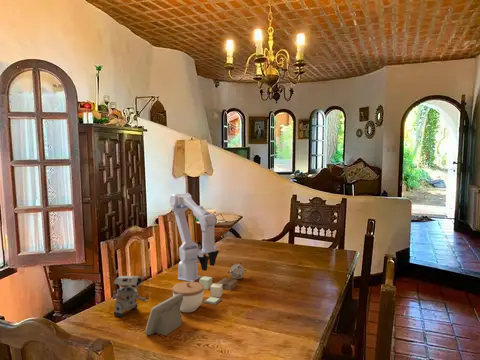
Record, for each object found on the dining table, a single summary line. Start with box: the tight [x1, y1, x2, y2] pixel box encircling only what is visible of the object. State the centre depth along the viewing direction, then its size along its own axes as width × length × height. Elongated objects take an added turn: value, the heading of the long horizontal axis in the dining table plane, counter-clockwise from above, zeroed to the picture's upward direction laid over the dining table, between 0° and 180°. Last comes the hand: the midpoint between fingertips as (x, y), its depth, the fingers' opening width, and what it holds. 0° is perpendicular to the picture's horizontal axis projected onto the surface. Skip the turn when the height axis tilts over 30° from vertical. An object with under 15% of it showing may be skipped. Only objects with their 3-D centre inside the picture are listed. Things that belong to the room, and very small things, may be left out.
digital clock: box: [144, 294, 183, 336], centre depth 127 cm, size 16×9×11 cm, turn 140°
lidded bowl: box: [171, 281, 205, 313], centre depth 143 cm, size 13×13×11 cm
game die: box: [227, 262, 247, 280], centre depth 177 cm, size 9×8×10 cm
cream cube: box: [209, 282, 224, 298], centre depth 157 cm, size 4×4×4 cm
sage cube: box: [198, 275, 213, 291], centre depth 166 cm, size 4×4×4 cm
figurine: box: [112, 274, 149, 318], centre depth 139 cm, size 9×12×15 cm
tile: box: [202, 296, 223, 306], centre depth 150 cm, size 6×6×1 cm
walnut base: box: [217, 277, 238, 291], centre depth 167 cm, size 7×7×3 cm
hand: (208, 267), depth 165 cm, fingers open, 7 cm apart
